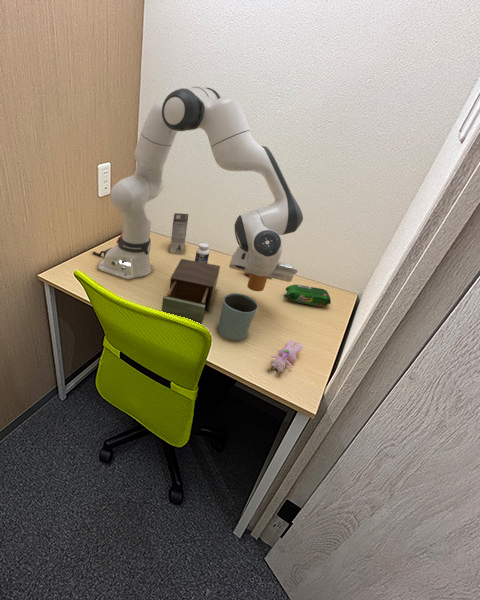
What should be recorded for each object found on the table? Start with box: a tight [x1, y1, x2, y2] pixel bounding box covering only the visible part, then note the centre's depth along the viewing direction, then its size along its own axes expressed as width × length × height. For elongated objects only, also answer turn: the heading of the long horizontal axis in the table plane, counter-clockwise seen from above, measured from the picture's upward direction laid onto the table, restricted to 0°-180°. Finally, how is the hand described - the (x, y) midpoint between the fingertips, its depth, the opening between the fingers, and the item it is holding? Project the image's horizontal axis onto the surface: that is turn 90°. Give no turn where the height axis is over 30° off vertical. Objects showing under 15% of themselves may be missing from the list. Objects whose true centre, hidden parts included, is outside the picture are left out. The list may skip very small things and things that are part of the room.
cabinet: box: [168, 258, 221, 313], centre depth 123 cm, size 16×15×11 cm
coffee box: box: [169, 212, 189, 255], centre depth 154 cm, size 9×6×16 cm
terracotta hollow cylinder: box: [246, 273, 268, 292], centre depth 119 cm, size 6×6×7 cm
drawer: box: [161, 281, 210, 325], centre depth 112 cm, size 19×13×9 cm
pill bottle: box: [194, 242, 210, 264], centre depth 143 cm, size 5×5×10 cm
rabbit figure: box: [267, 340, 303, 377], centre depth 96 cm, size 6×6×15 cm
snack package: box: [284, 284, 332, 307], centre depth 122 cm, size 7×16×5 cm, turn 70°
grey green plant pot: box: [217, 292, 259, 342], centre depth 105 cm, size 10×10×12 cm
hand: (259, 274), depth 118 cm, fingers closed on terracotta hollow cylinder, 5 cm apart
